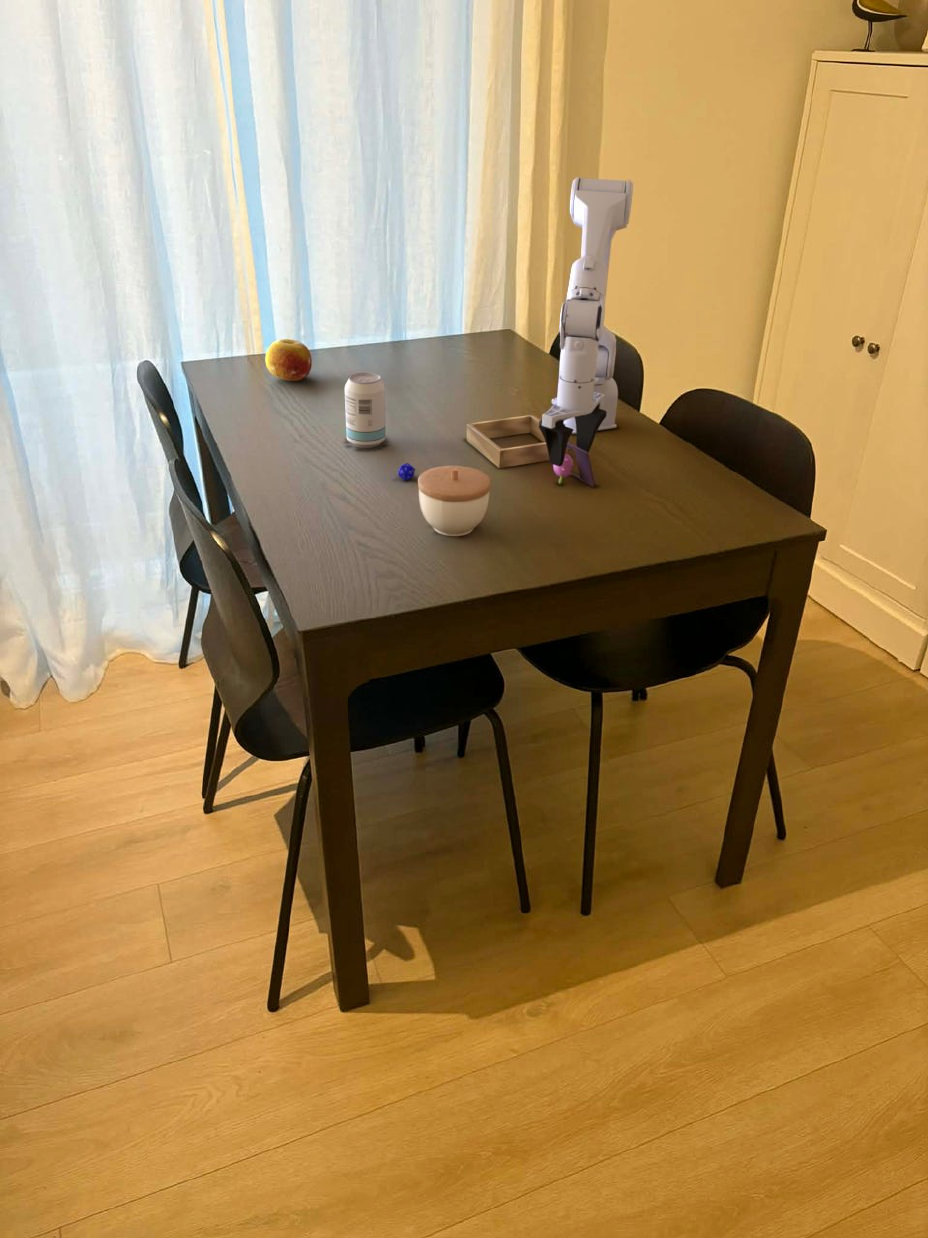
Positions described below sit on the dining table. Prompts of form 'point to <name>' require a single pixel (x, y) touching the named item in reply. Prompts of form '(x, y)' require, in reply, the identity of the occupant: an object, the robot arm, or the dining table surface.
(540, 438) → the birch box
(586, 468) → the purple monster figurine
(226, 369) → the dining table surface
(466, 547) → the dining table surface
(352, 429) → the beverage can
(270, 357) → the fruit
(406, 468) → the die
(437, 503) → the trinket box
